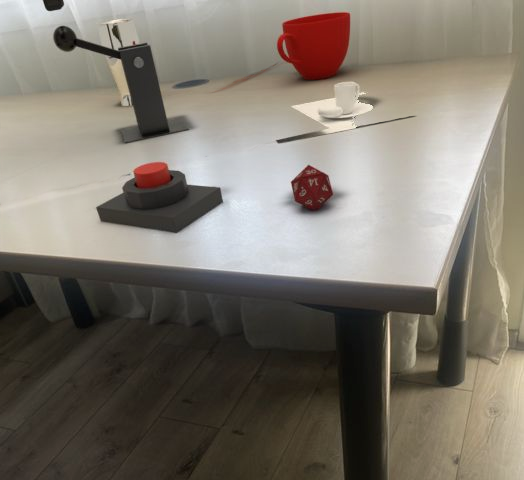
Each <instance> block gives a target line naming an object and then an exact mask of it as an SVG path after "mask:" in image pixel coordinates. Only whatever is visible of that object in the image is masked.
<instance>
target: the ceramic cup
mask: <svg viewBox="0 0 524 480" xmlns="http://www.w3.org/2000/svg"><path fill="white" fill-rule="evenodd" d="M281 26H282V34H280V35H279V36H278V38H277V41H276V50H277V52H278V54H279V56H280V58H281V59H282V60H283V61H284V62H285V63H288V64H291V65H292V66H293V68H294V69H295V70H296V72H297V73H298V74H299V75H300V76H301V77H302V79H304V80H307V81H308V80H309V81H310V80H311V81H312V80H313V81H314V80H322V79H327V78H331V77H333V76H335V75H337V72H338V71H339V70H340V68H341V67H342V65H343V63H344V61H345V59H346V56H347V54H348V50H349V45H350V36H351V13H350V12H348V11H347V12H346V11H345V12H344V11H339V12H327V13H319V14H313V15H307V16H301V17H296V18H293V19H289V20H286V21H283V22H282V24H281ZM284 45H285V49H286V52H285V50H284ZM286 53H287V54H286Z"/></svg>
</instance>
